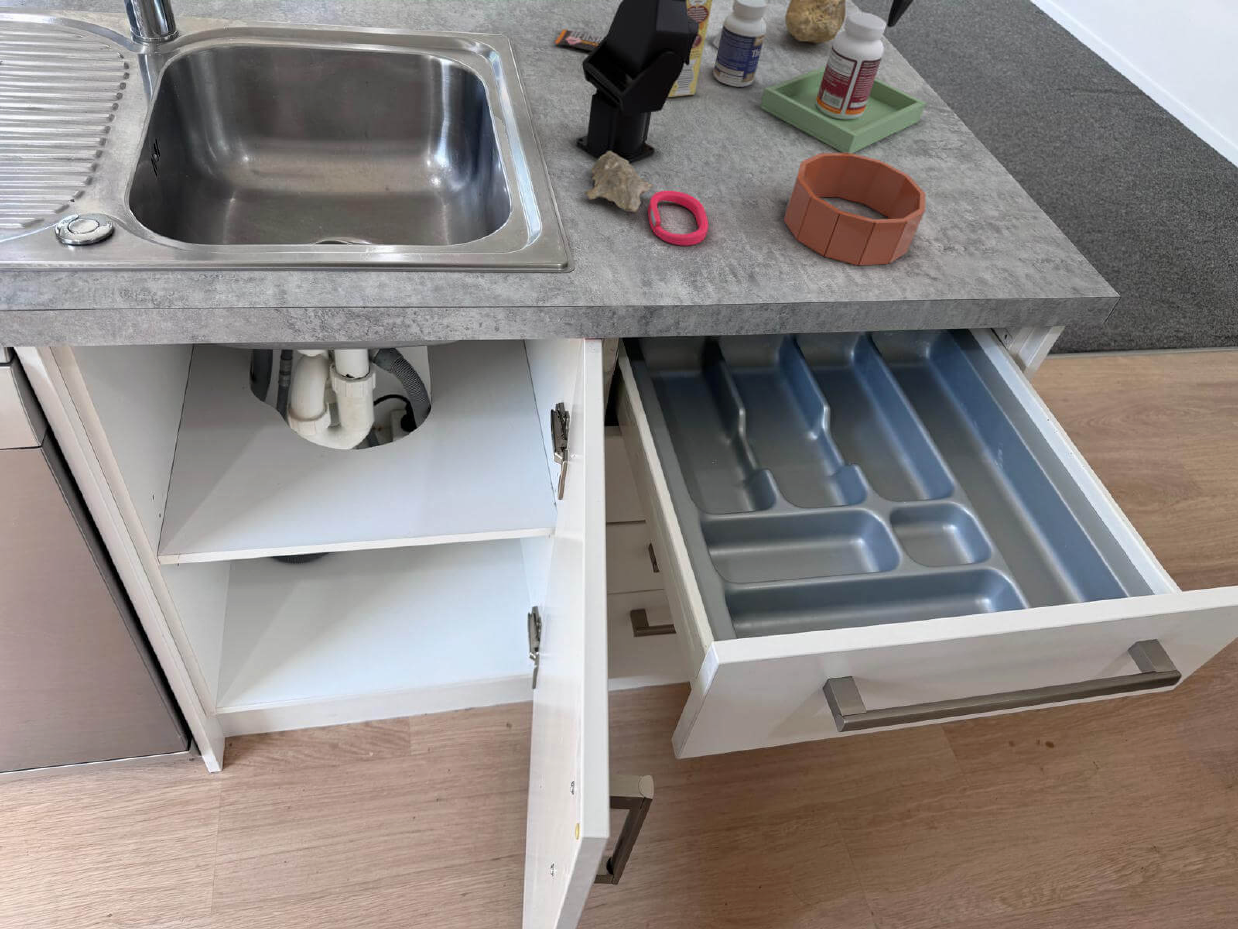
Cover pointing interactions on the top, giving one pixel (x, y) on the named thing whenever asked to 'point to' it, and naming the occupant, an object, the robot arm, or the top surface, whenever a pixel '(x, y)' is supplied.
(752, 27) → the pill bottle
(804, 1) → the tan rock
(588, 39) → the chocolate bar
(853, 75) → the pill bottle
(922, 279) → the top surface
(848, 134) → the tray
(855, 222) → the segmented terracotta ring
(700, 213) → the fitness band
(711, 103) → the top surface
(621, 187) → the artifact
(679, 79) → the candy box
